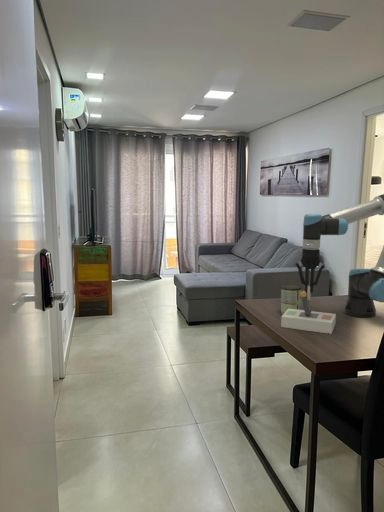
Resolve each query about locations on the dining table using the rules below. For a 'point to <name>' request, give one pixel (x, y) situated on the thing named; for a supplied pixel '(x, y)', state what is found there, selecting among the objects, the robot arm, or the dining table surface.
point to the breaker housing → (308, 321)
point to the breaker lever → (306, 303)
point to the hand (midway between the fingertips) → (308, 299)
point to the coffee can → (290, 297)
